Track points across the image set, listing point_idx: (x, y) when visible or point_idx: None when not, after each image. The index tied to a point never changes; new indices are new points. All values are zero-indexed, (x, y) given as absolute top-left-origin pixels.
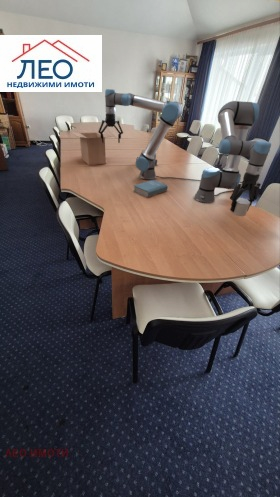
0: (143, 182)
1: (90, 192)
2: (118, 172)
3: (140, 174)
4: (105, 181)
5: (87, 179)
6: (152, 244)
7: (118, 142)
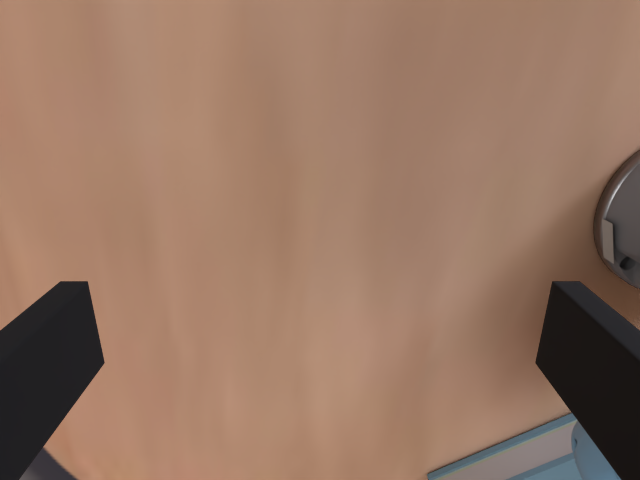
0: (531, 477)
1: (140, 465)
2: (420, 29)
3: (617, 232)
4: (249, 290)
5: (87, 234)
6: None
7: (547, 323)
